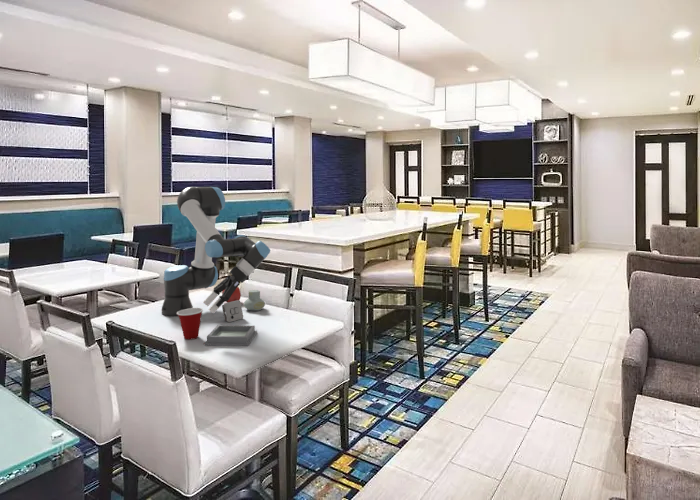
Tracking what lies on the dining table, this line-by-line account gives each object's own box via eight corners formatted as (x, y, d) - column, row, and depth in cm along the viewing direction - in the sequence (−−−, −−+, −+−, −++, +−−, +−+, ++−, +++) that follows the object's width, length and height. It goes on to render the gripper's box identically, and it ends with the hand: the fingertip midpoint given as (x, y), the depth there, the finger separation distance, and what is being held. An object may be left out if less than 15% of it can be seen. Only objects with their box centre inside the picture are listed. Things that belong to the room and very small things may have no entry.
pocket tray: (216, 332, 220) (216, 324, 220) (256, 332, 220) (256, 325, 220) (204, 345, 202) (204, 337, 202) (248, 346, 202) (248, 337, 202)
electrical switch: (228, 323, 235) (226, 303, 234) (221, 322, 238) (220, 302, 237) (243, 319, 242) (242, 300, 241) (237, 318, 245) (235, 299, 245)
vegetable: (217, 304, 270) (217, 286, 269) (227, 299, 280) (226, 282, 279) (235, 305, 267) (235, 287, 266) (244, 301, 277) (244, 283, 276)
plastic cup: (180, 333, 217) (180, 307, 216) (206, 333, 218) (205, 306, 217) (174, 341, 207) (173, 313, 205) (200, 341, 207) (200, 313, 206)
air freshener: (258, 306, 266) (258, 288, 265) (267, 309, 261) (267, 290, 259) (241, 310, 259) (240, 291, 257) (250, 313, 253) (250, 293, 252)
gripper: (255, 281, 208) (220, 320, 203) (241, 271, 230) (209, 306, 226) (242, 270, 205) (206, 309, 200) (229, 261, 227) (196, 296, 223)
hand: (208, 307), depth 213 cm, fingers open, 13 cm apart
